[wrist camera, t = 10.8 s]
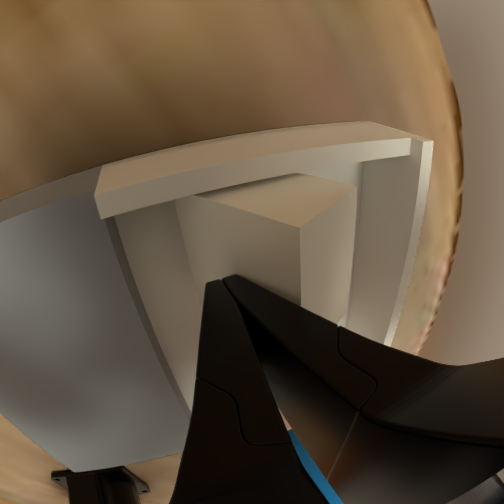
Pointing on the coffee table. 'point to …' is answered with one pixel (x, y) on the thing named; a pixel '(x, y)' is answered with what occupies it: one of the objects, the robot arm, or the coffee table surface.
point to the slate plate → (80, 335)
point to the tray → (261, 167)
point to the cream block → (276, 238)
